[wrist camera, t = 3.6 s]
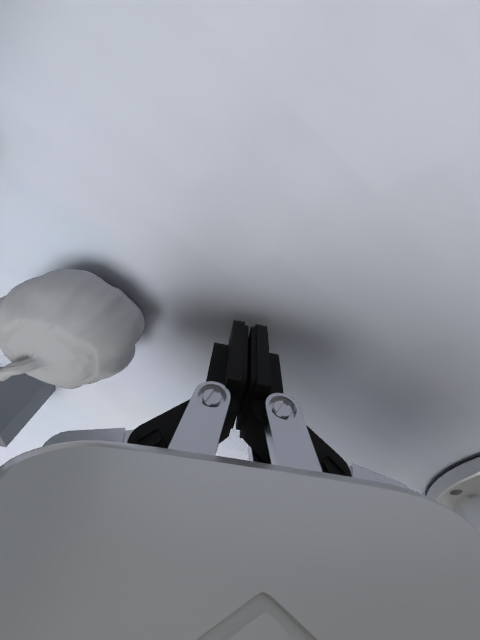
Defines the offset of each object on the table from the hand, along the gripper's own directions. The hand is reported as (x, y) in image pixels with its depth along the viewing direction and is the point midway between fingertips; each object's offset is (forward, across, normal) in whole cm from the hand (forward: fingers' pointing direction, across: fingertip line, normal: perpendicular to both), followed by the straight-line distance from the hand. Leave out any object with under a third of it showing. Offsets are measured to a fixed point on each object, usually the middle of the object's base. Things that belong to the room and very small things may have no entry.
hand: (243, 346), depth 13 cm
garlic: (+2, +8, 0) cm, 8 cm away
